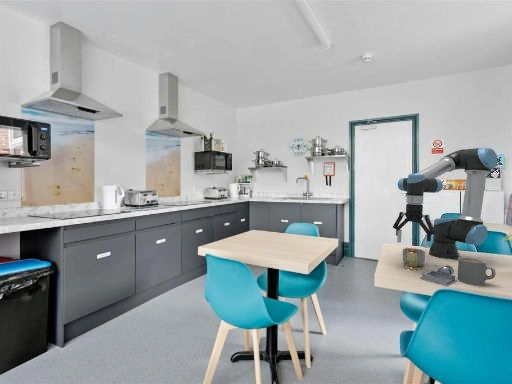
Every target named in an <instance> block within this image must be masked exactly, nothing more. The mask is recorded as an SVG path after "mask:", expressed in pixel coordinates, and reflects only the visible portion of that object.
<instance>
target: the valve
mask: <svg viewBox="0 0 512 384" xmlns="http://www.w3.org/2000/svg"><path fill="white" fill-rule="evenodd" d="M416 249H417V248H416ZM416 249H408V251H407V264H405V265H404V267H405V269H406V270H408V269H409V271H414V270H416V271H419V266H417V259H418V252H417V250H416Z"/></svg>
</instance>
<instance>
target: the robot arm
mask: <svg viewBox="0 0 512 384" xmlns="http://www.w3.org/2000/svg"><path fill="white" fill-rule="evenodd" d="M498 161H499V159H498V155H497V152H496V151H495V150H494V149H493V148H492V147H476V148H468V149H465V148H462V149H459V150H455V151H454V152H451V153H448V154H447V155H444V156H443V157H441V158H440V159H439V160H438V161H437V162H434V164H431V165H429V166H428V167H426V168H424V169H422V170H420V171H418V172H417V173H409V174H408V175H407V177H401V178H399V180H398V181H397V188H398V190H400V191H401V192H406V204H405V212H404V211H400V212H399V214H398V216H397V218H396V220H395V222H394V224H393V225H392V228H393V229H394V230H395V236H396V237H397V238H396V242H397V243H398V244H399V243H402V234H403V233H402V231H403V230H402V228H403V227H404V226H406V224H407V223H408V222H409V223H411V222H413V223H417V224H419V226H420V227H421V229H423V231H424V232H425V235H424V249H428V248H429V250H428V255H430V256H433V257H437V258H440V259H446V260H447V259H450V260H457V259H458V258H459V257H460V253H459V251H458V248H457V242H458V243H463V244H467V245H471V246H472V245H473V246H479V245H481V244H483V243H484V242H485V240H486V239H487V237H488V231H489V230H488V228H487V227H488V226H486V225H484V220H483V219H482V218H481V217H482V210H483V209H482V208H483V202H484V197H485V196H484V195H485V187H486V181H487V176H488V175H489V174H490V173H491V170H493V169H495V168H496V167H497V165H498ZM455 170H456V171H457V170H464V173H465V174H466V181H465V187H464V188H465V189H464V195H463V202H462V210H461V215H460V216H459V217H457V218H454V217H444V218H443V217H439V218H435V219H434V220H433V223H432V221H431V219H430V218H431V217H430V214H423V211H424V205H423V204H424V194H425V193H430V194H431V193H432V194H435V193H439V192H441V191H442V190H443V186H444V184H443V181H442V180H441V179H439V178H438V177H440V176H442V175H444V174H446V173H451V172H453V171H455ZM404 217H405V218H404ZM403 218H404V220H403ZM423 219H424V220H425V221H423ZM402 220H403V221H402ZM401 221H402V222H401ZM424 222H425V223H424ZM429 242H432V243H431V245H430V247H429Z"/></svg>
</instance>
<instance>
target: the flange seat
mask: <svg viewBox="0 0 512 384" xmlns="http://www.w3.org/2000/svg"><path fill="white" fill-rule="evenodd" d="M454 274H455V269H454V268H453V267H452V266H451V265H444V266H441V267H439V268H438V269H437V270H432V269H431V270H428V271H426V272H423V273H422V274H421V277H420V279H419V280H423V281H427V282H430V283H434V284H437V285H440V284H442V285H441V286H444V285H445V286H444V287H449V286H450V285H452V284H454V283H455V282H456V283H457V281H458V279H456V275H454Z"/></svg>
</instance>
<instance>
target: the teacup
mask: <svg viewBox="0 0 512 384" xmlns="http://www.w3.org/2000/svg"><path fill="white" fill-rule="evenodd" d="M408 249H416V250H417V252H418V259H417V267H420V266H422V265H424V264H425V261H426V258H425V257H426V251H425V250H423V249H420V248H415V247H404V248H403V249H402V251H401V252H402V260H403V262H404V263H405V265H407V251H408Z"/></svg>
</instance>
